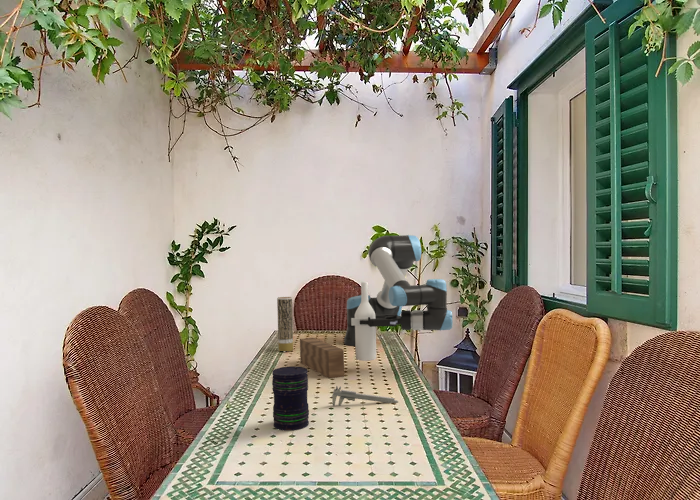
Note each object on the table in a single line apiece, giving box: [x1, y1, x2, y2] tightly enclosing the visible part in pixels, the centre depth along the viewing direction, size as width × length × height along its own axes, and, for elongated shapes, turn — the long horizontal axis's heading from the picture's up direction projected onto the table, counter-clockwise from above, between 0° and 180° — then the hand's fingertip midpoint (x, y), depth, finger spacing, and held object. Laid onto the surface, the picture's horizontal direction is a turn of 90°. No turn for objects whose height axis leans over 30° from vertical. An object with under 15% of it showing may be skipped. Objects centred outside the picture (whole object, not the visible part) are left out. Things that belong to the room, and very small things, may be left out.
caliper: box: [331, 385, 399, 407], centre depth 161 cm, size 20×1×6 cm, turn 96°
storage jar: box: [271, 365, 310, 432], centre depth 144 cm, size 10×10×15 cm
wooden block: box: [299, 337, 345, 380], centre depth 207 cm, size 30×6×10 cm, turn 26°
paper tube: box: [276, 296, 294, 352], centre depth 244 cm, size 7×7×25 cm
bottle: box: [354, 281, 377, 362], centre depth 204 cm, size 8×8×30 cm
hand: (353, 320), depth 205 cm, fingers closed on bottle, 8 cm apart
